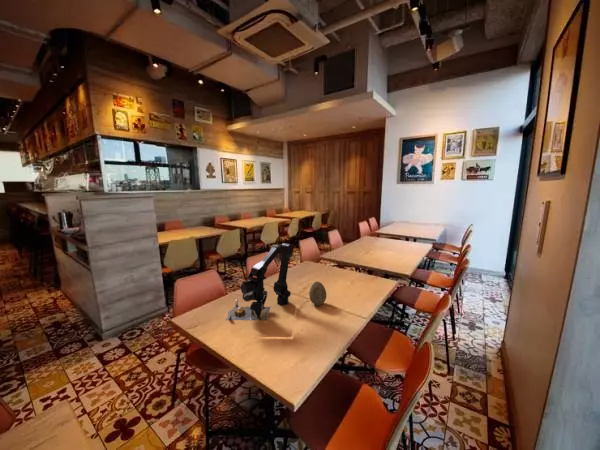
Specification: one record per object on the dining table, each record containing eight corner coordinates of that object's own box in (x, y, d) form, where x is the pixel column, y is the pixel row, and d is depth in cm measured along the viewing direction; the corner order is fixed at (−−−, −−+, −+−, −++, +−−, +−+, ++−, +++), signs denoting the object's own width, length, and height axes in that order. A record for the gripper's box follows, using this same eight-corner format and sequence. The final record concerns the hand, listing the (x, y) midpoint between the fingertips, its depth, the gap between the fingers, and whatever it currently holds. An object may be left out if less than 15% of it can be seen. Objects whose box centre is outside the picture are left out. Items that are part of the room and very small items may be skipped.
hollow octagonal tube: (266, 312, 142) (265, 305, 142) (264, 317, 136) (263, 311, 136) (256, 312, 143) (255, 305, 142) (253, 317, 137) (253, 311, 136)
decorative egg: (314, 299, 160) (313, 277, 157) (329, 302, 154) (329, 280, 152) (306, 306, 150) (306, 283, 148) (322, 310, 145) (321, 286, 143)
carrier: (270, 308, 149) (270, 299, 148) (266, 321, 134) (265, 311, 133) (234, 308, 150) (233, 299, 149) (225, 321, 135) (224, 311, 134)
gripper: (248, 281, 147) (250, 305, 149) (240, 295, 128) (241, 322, 131) (267, 281, 146) (268, 305, 148) (260, 295, 128) (262, 322, 130)
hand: (260, 313), depth 139 cm, fingers open, 9 cm apart
